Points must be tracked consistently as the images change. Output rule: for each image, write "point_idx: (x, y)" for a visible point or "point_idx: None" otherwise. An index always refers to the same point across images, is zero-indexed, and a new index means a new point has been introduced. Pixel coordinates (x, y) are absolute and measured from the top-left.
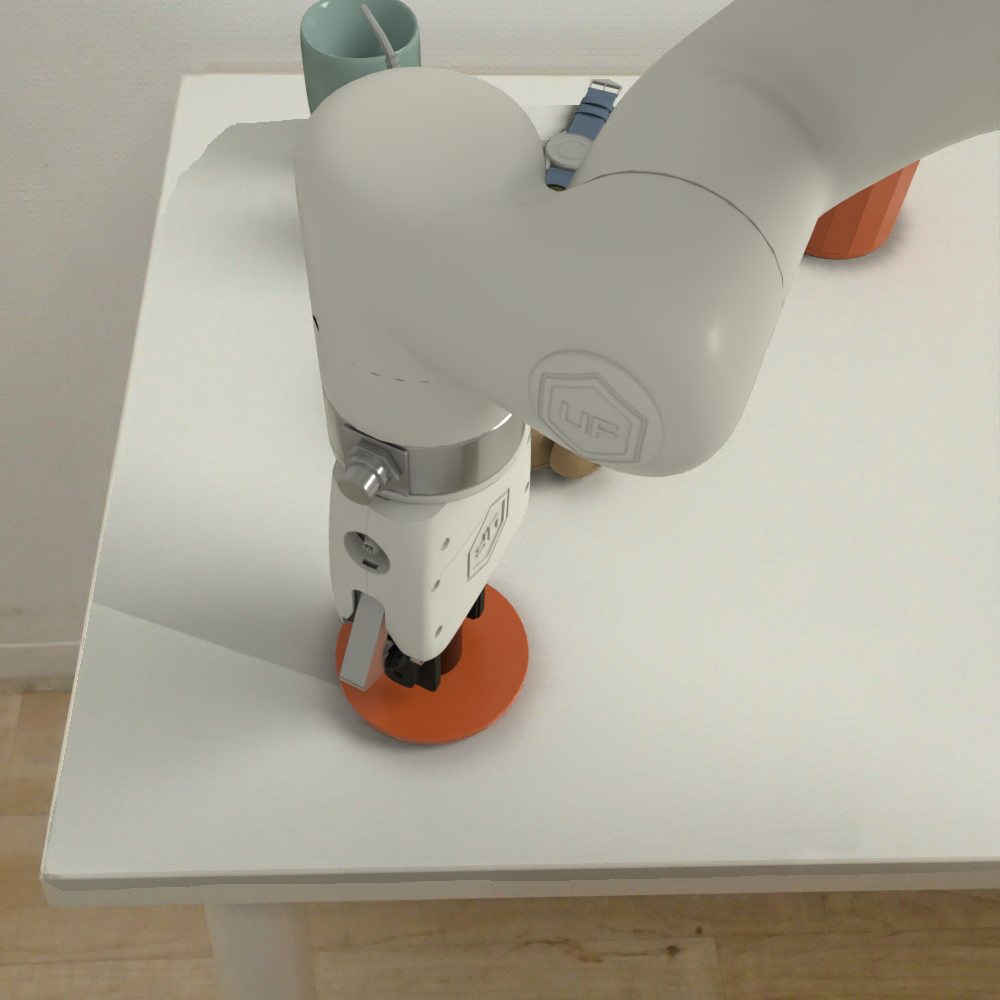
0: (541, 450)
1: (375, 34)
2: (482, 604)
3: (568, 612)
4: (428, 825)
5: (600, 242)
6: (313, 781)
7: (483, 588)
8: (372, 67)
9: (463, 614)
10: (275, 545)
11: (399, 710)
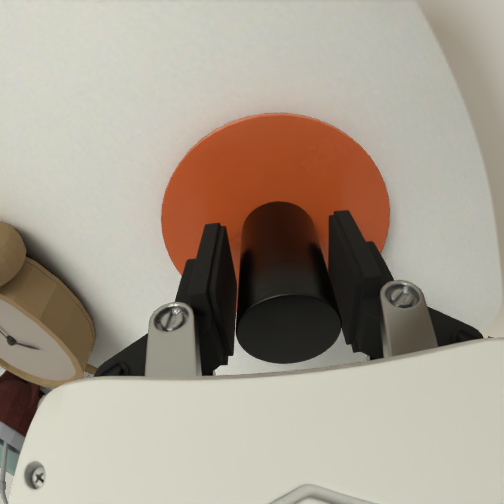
0: (22, 279)
1: (6, 499)
2: (208, 236)
3: (122, 133)
4: (439, 128)
5: None
6: (435, 240)
7: (201, 263)
8: (12, 467)
9: (442, 381)
10: (255, 368)
11: (364, 222)
